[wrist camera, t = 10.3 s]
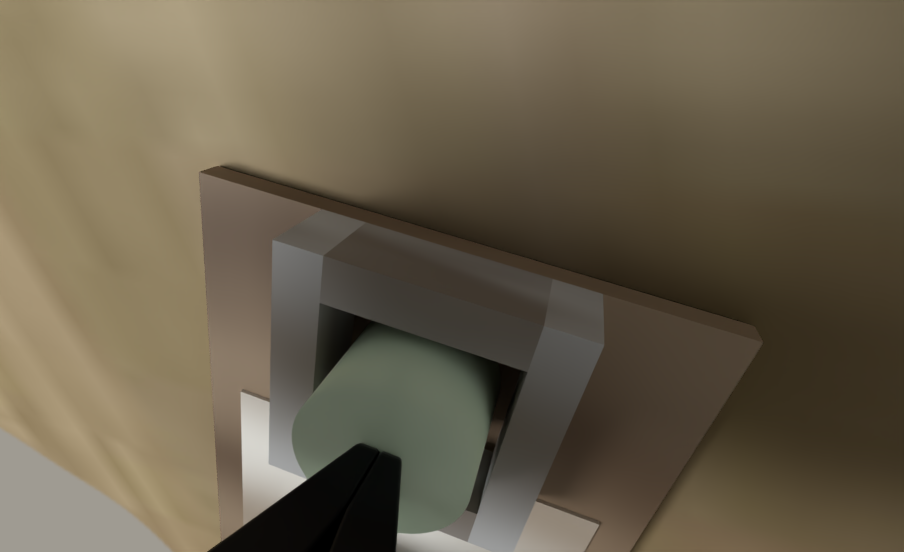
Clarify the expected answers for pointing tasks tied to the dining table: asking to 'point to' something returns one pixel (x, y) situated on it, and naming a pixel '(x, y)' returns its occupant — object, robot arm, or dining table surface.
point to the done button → (405, 419)
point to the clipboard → (468, 329)
